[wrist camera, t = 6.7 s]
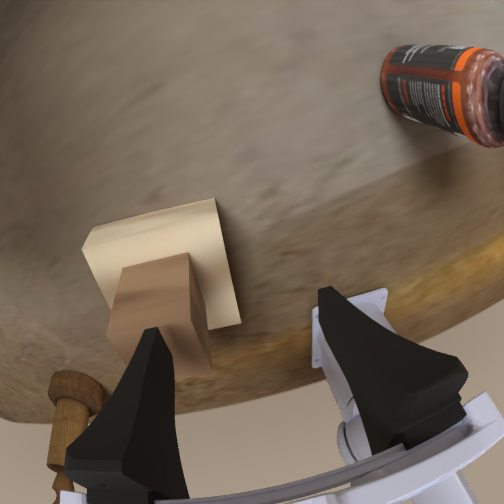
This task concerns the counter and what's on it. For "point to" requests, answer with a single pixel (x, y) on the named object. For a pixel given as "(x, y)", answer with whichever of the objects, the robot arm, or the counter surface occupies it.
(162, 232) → the birch base block
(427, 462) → the robot arm
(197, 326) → the walnut block
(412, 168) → the counter surface
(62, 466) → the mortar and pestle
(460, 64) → the supplement bottle
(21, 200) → the counter surface
